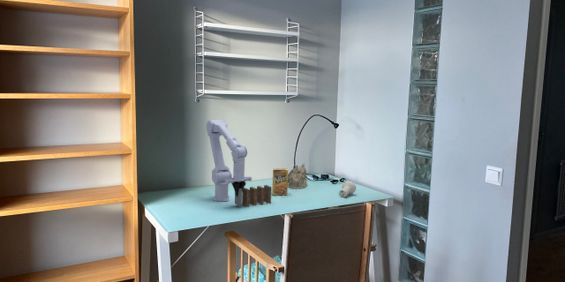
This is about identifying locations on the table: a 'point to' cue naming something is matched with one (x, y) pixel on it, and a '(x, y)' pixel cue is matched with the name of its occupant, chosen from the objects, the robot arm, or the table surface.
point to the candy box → (280, 181)
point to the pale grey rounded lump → (347, 189)
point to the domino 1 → (239, 198)
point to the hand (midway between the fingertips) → (238, 195)
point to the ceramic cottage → (297, 177)
